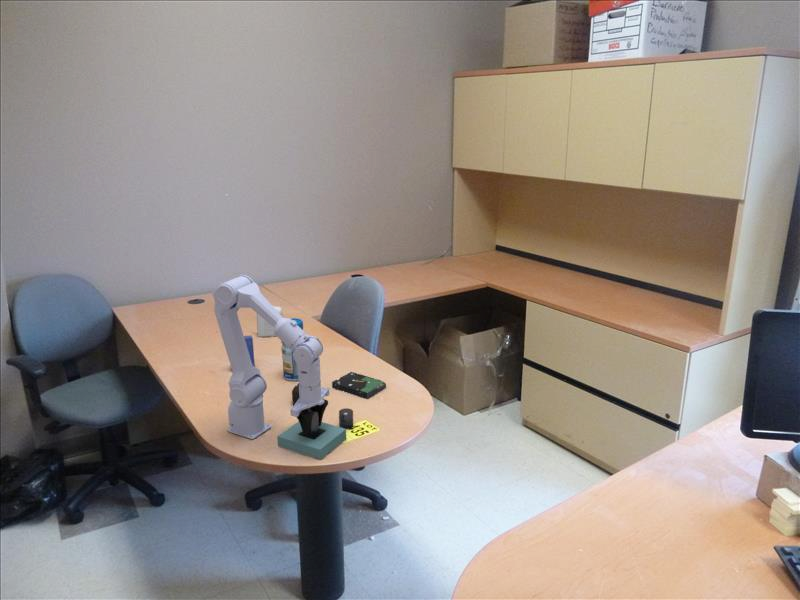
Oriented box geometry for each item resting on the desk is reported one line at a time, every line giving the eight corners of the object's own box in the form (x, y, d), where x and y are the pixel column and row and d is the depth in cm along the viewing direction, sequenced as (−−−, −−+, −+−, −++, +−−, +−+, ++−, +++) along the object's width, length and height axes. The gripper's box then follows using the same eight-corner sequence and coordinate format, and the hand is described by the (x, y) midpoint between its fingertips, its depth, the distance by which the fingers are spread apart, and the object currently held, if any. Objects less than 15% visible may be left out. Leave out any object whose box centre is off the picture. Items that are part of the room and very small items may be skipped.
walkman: (253, 365, 209) (251, 334, 205) (254, 368, 207) (252, 336, 203) (230, 369, 206) (227, 337, 202) (232, 372, 204) (229, 340, 200)
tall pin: (301, 441, 159) (299, 411, 156) (311, 435, 162) (310, 406, 159) (312, 446, 157) (310, 416, 154) (322, 439, 160) (321, 410, 157)
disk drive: (331, 390, 192) (368, 400, 184) (331, 382, 191) (367, 392, 183) (351, 378, 200) (386, 388, 192) (350, 371, 199) (386, 380, 191)
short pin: (336, 427, 167) (336, 413, 166) (344, 421, 171) (343, 407, 169) (348, 430, 166) (348, 416, 164) (355, 424, 169) (355, 410, 168)
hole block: (278, 446, 158) (277, 436, 157) (305, 426, 168) (304, 417, 167) (320, 459, 151) (320, 449, 150) (346, 438, 161) (346, 428, 160)
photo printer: (283, 332, 242) (281, 304, 238) (283, 336, 238) (281, 307, 234) (257, 334, 240) (255, 305, 236) (257, 338, 236) (255, 308, 232)
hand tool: (303, 380, 198) (302, 368, 196) (315, 381, 197) (314, 368, 196) (285, 406, 180) (284, 393, 178) (297, 407, 179) (296, 394, 178)
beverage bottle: (305, 381, 196) (302, 325, 190) (280, 381, 196) (277, 325, 191) (310, 371, 204) (307, 317, 198) (285, 371, 205) (282, 316, 199)
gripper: (305, 397, 146) (307, 445, 150) (337, 376, 158) (339, 421, 162) (282, 391, 150) (285, 438, 154) (316, 371, 162) (318, 415, 166)
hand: (311, 429), depth 158 cm, fingers closed on tall pin, 4 cm apart
